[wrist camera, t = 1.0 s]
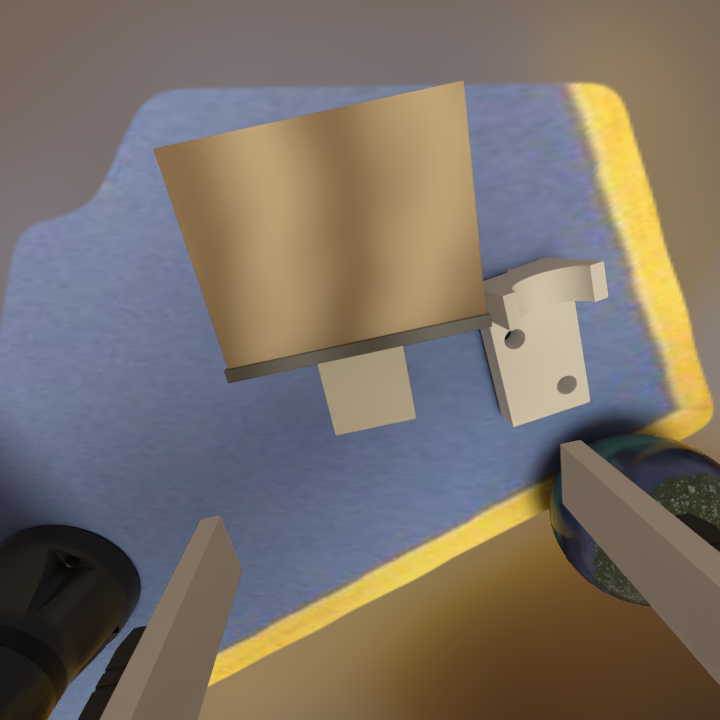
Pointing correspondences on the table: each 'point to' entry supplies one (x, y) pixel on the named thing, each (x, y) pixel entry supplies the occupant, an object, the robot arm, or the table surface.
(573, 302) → the bracket
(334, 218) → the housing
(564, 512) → the vase
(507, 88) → the table surface
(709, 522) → the robot arm
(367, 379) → the tan cardboard carton
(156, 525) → the table surface
